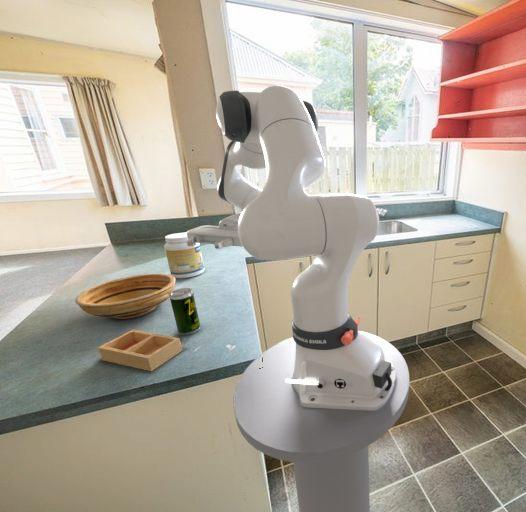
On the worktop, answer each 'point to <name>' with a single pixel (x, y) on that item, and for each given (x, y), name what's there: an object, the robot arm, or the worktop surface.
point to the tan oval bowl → (127, 296)
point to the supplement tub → (183, 256)
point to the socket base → (140, 349)
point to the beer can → (185, 311)
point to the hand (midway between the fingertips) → (202, 245)
